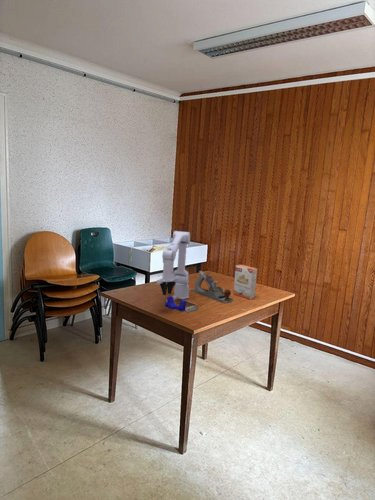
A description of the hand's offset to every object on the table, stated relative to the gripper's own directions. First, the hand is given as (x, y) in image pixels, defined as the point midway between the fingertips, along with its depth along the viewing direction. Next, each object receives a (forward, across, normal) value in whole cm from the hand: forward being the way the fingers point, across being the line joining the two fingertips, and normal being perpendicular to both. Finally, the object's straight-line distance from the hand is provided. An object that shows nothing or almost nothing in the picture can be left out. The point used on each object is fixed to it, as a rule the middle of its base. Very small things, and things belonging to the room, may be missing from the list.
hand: (166, 294), depth 210 cm
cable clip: (+10, +8, 0) cm, 13 cm away
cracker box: (+10, +64, -9) cm, 65 cm away
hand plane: (+10, +46, +4) cm, 47 cm away
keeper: (+10, +13, 0) cm, 16 cm away
